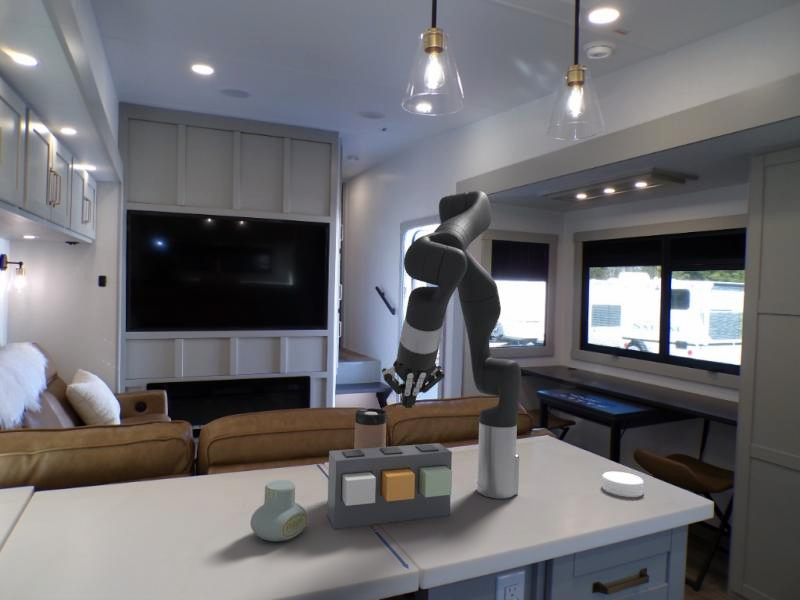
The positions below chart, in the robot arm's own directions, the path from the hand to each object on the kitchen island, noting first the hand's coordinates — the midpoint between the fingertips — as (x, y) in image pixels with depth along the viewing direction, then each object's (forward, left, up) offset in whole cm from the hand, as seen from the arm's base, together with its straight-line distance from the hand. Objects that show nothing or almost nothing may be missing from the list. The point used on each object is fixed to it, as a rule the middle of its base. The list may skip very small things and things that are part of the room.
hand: (406, 405), depth 106 cm
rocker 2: (-8, -4, -20) cm, 21 cm away
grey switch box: (+1, -7, -26) cm, 27 cm away
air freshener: (+25, -4, -26) cm, 36 cm away
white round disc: (-62, -6, -26) cm, 68 cm away
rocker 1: (+9, -4, -20) cm, 22 cm away
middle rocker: (+1, -4, -20) cm, 20 cm away
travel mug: (+2, -20, -26) cm, 33 cm away
